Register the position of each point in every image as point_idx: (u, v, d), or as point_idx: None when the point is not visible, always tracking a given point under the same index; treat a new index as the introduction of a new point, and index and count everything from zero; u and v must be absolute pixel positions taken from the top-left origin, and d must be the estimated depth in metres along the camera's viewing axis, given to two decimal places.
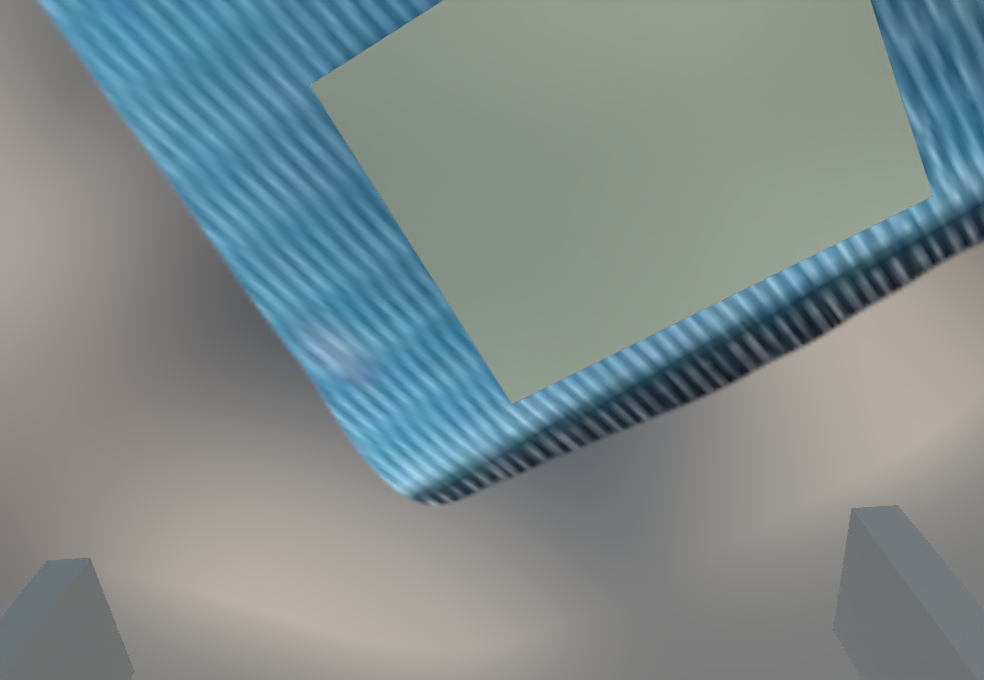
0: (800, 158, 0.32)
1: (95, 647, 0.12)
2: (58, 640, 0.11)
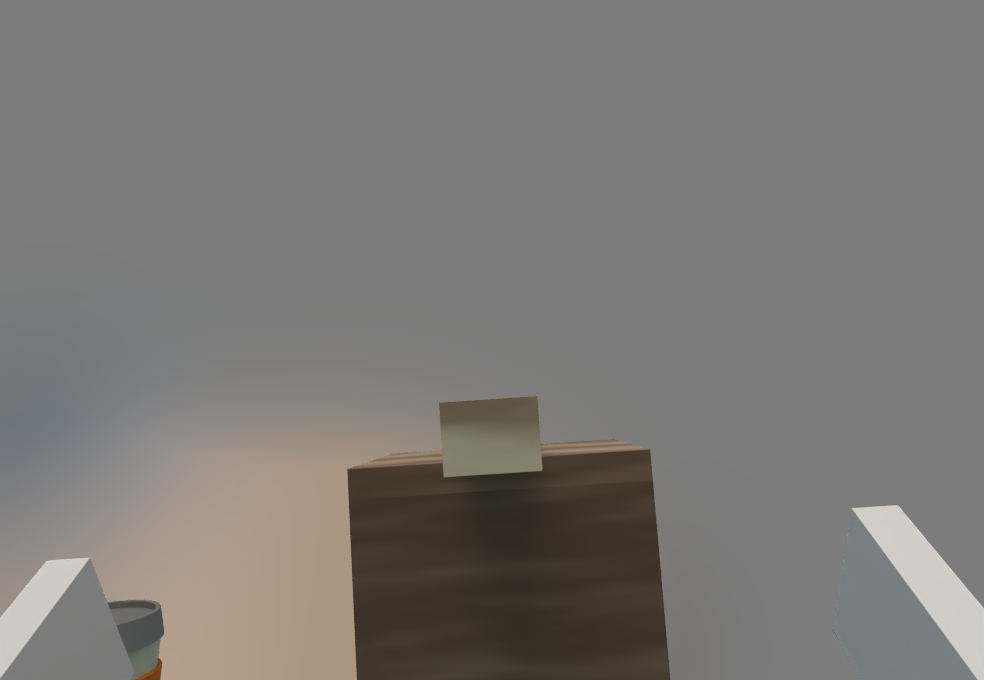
0: None
1: (95, 647, 0.12)
2: (58, 640, 0.11)
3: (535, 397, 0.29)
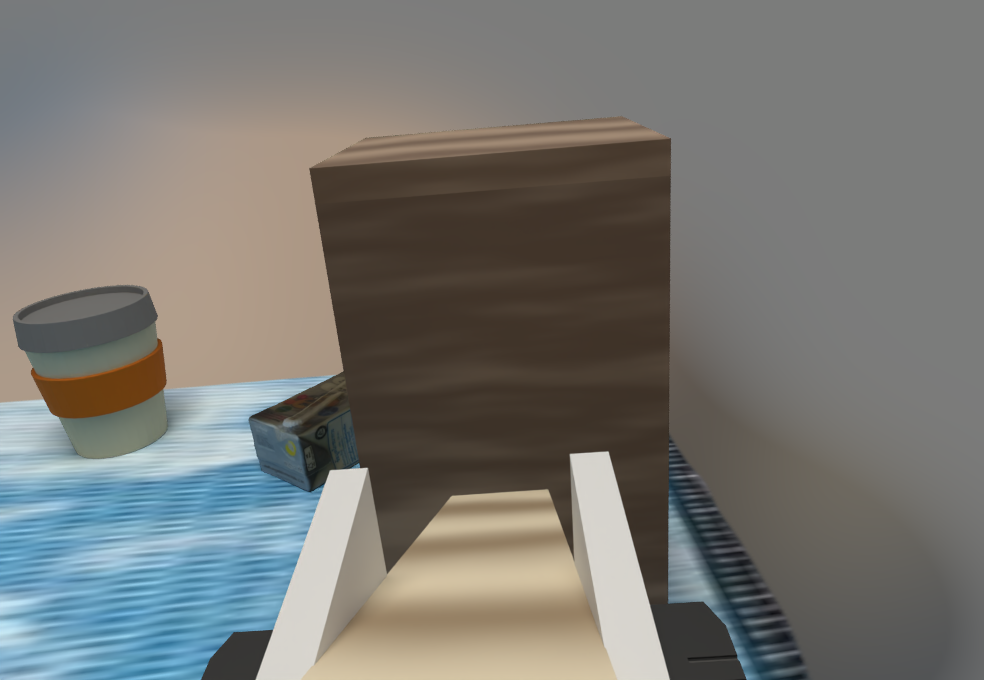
0: None
1: (373, 545, 0.14)
2: (360, 532, 0.13)
3: None
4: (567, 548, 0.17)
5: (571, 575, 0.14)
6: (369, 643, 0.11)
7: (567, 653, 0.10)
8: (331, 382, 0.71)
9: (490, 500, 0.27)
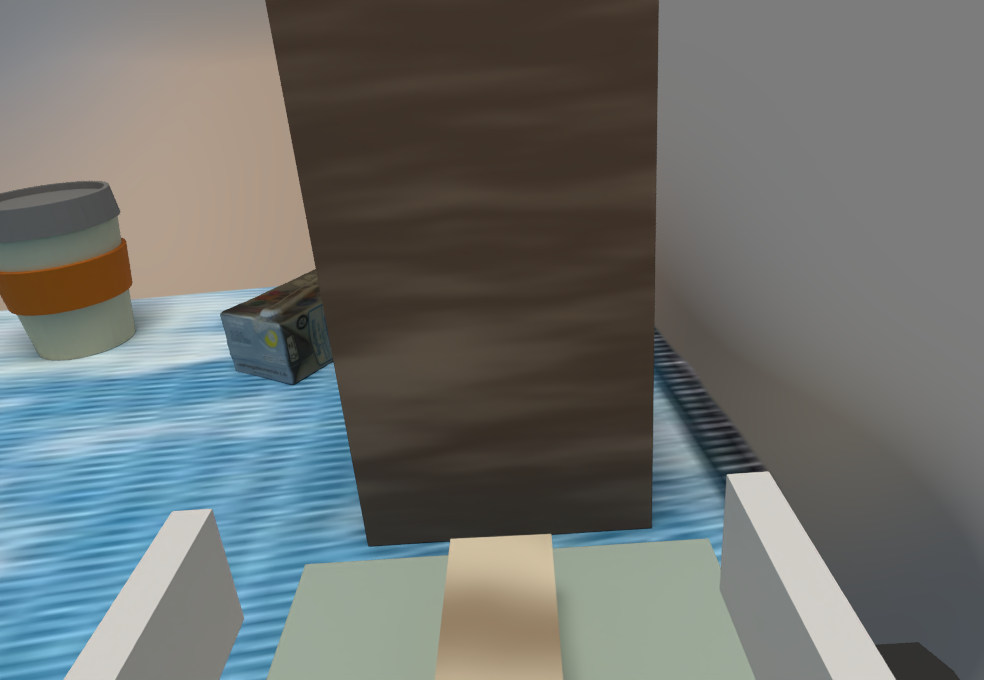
0: (621, 626, 0.28)
1: (217, 591, 0.13)
2: (192, 580, 0.12)
3: None
4: None
5: None
6: None
7: None
8: (302, 279, 0.68)
9: (492, 582, 0.26)
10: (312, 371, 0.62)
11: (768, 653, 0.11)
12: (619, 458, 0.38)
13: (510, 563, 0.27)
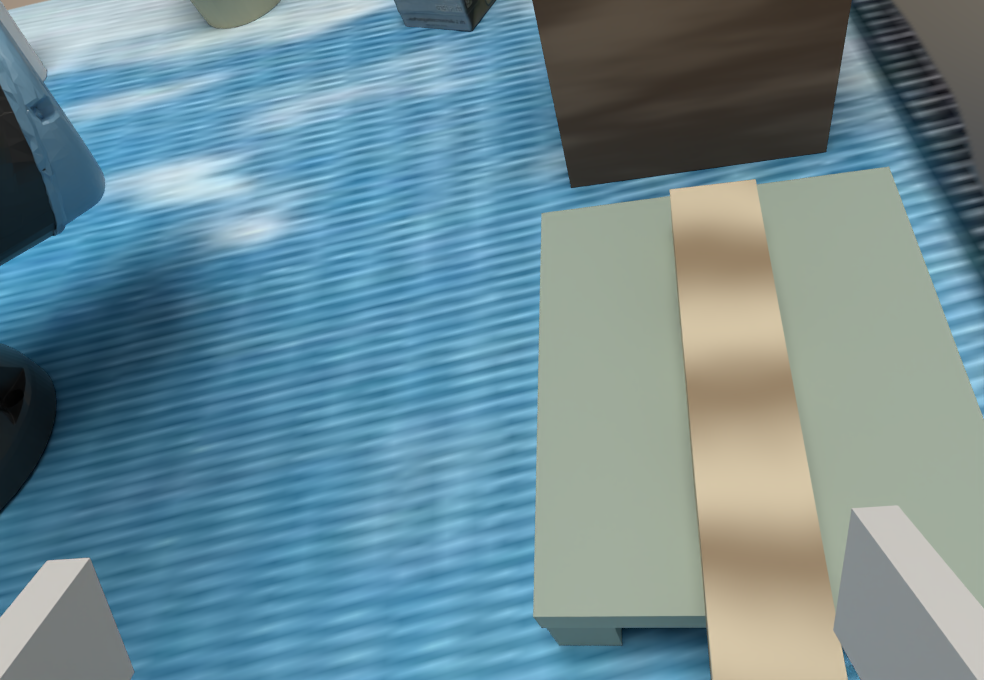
0: (810, 246, 0.35)
1: (95, 647, 0.12)
2: (57, 640, 0.11)
3: None
4: (798, 420, 0.27)
5: (808, 489, 0.26)
6: (724, 590, 0.24)
7: (819, 621, 0.23)
8: None
9: (710, 223, 0.34)
10: (483, 13, 0.63)
11: None
12: (803, 93, 0.42)
13: (723, 206, 0.34)
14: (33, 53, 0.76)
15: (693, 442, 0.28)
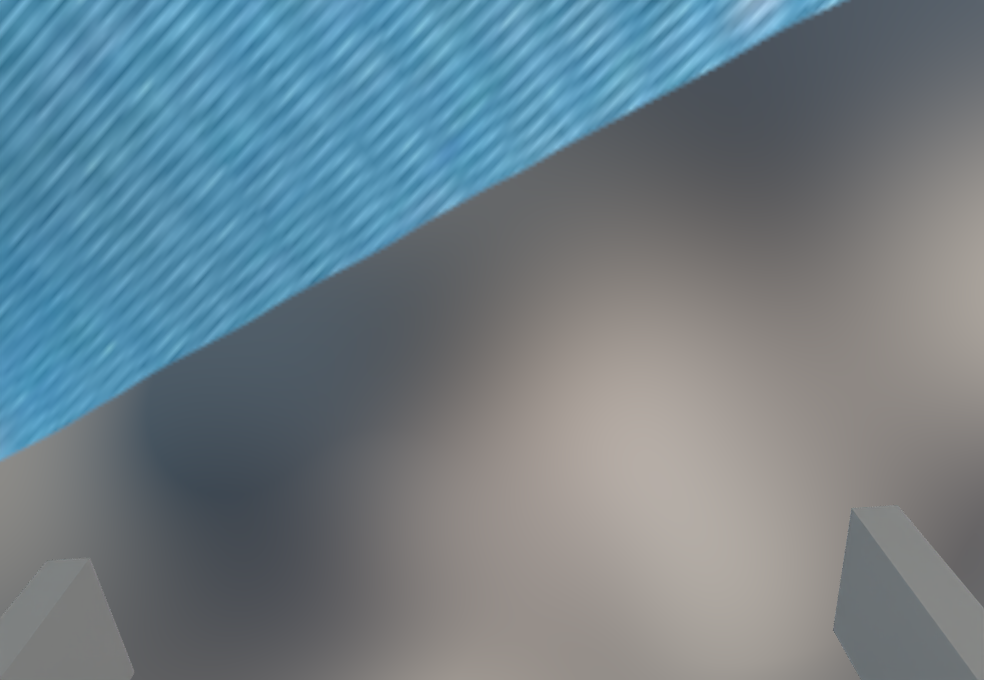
0: None
1: (95, 647, 0.12)
2: (57, 640, 0.11)
3: None
4: None
5: None
6: None
7: None
8: None
9: None
10: None
11: None
12: None
13: None
14: None
15: None
